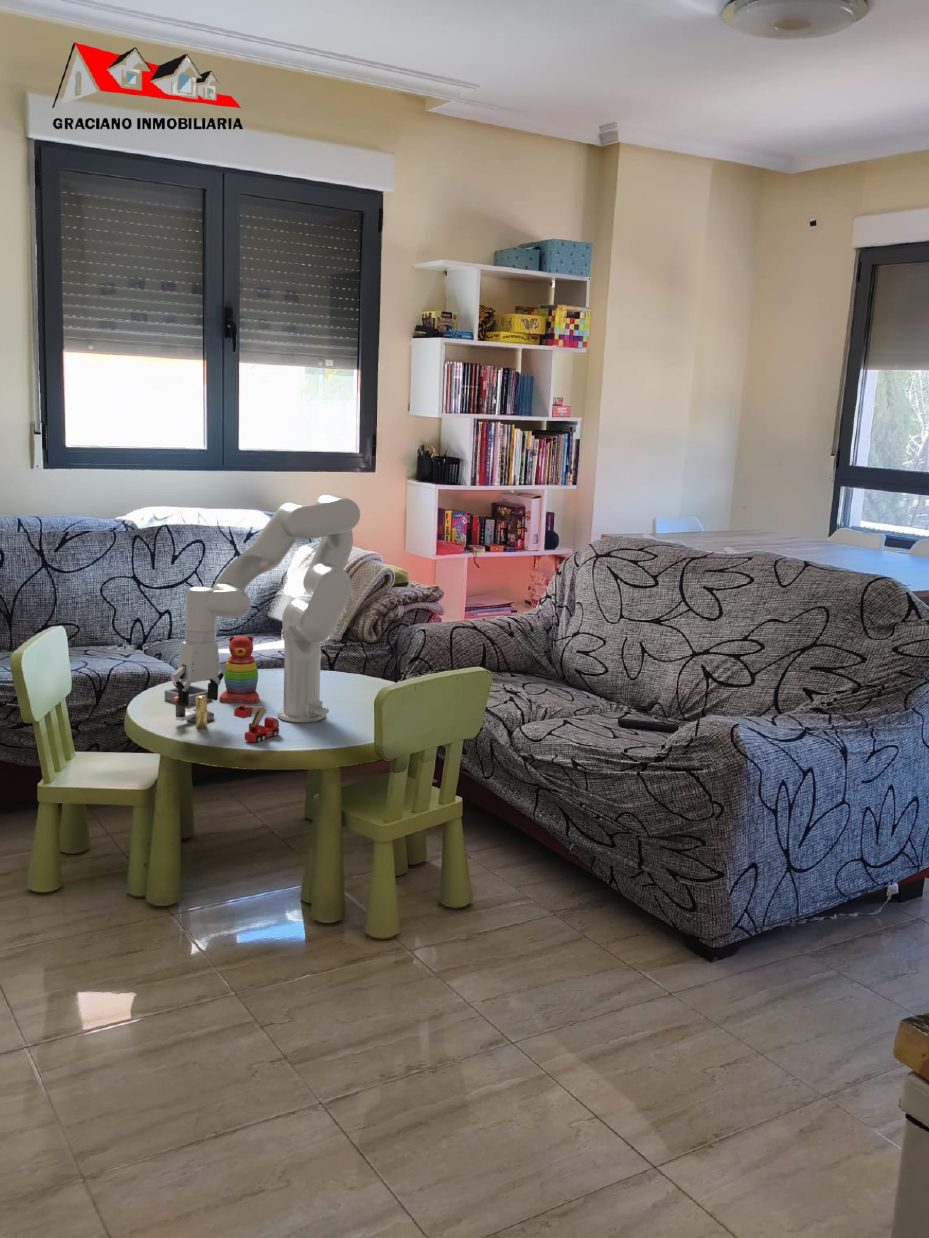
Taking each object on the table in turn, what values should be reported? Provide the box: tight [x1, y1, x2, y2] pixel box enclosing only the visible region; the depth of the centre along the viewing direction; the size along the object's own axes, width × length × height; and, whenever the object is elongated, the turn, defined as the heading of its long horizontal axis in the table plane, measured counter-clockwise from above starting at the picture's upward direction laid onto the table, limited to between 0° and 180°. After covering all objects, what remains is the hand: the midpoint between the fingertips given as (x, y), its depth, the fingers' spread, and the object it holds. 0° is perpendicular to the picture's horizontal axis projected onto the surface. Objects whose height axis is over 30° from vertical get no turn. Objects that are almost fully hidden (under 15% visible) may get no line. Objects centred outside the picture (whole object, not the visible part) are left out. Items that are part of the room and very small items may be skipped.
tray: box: [164, 684, 212, 707], centre depth 301 cm, size 9×9×3 cm
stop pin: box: [195, 695, 208, 730], centre depth 277 cm, size 3×3×8 cm
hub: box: [186, 710, 215, 724], centre depth 284 cm, size 7×7×1 cm
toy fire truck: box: [233, 704, 280, 743], centre depth 269 cm, size 3×14×10 cm, turn 149°
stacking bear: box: [218, 635, 260, 705], centre depth 304 cm, size 11×10×18 cm
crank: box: [173, 696, 196, 722], centre depth 281 cm, size 11×4×6 cm, turn 149°
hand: (198, 702), depth 276 cm, fingers open, 9 cm apart
